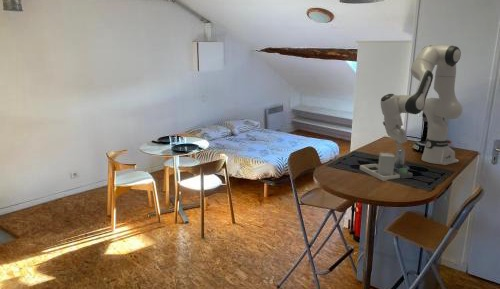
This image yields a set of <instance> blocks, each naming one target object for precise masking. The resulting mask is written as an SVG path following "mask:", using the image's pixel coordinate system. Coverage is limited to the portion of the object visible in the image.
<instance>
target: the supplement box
mask: <svg viewBox="0 0 500 289" xmlns="http://www.w3.org/2000/svg"><path fill="white" fill-rule="evenodd" d="M378 154H379V156H378V163H377V165H378V168H377V170H378V174H380V175H382V176H390V175H393V172H394V171H395V169H394V164H395V157H396V155H395V154H394V153H392V152H379V153H378Z"/></svg>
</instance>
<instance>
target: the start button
mask: <svg viewBox="0 0 500 289" xmlns="http://www.w3.org/2000/svg"><path fill="white" fill-rule="evenodd" d="M407 171H408V170H407V169H406V168H400V170H399V172H400V173H402V174H406V173H407Z"/></svg>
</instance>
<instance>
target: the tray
mask: <svg viewBox="0 0 500 289" xmlns="http://www.w3.org/2000/svg"><path fill="white" fill-rule="evenodd" d="M394 166H395V163H394ZM404 168H406V169H407V171H408V170H410V166H407V165H404ZM396 170H400V168H396V167H394V171H396Z"/></svg>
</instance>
